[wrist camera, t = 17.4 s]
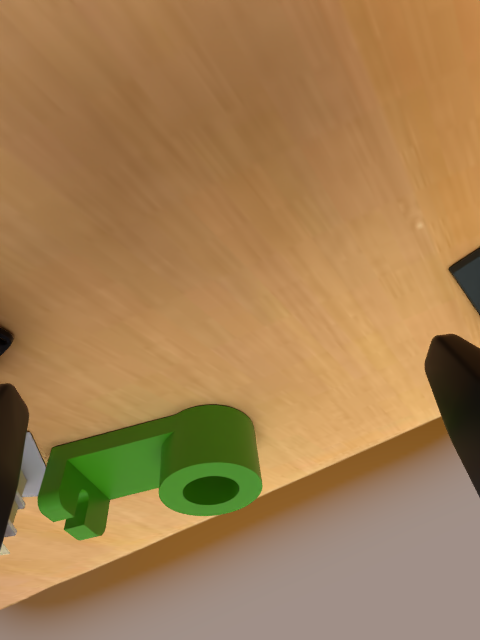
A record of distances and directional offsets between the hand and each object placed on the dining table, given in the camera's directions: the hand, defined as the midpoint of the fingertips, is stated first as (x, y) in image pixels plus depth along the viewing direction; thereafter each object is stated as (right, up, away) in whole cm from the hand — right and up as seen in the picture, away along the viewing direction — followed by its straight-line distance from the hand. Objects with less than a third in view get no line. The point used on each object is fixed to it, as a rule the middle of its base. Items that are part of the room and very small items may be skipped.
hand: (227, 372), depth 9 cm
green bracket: (-6, -9, +24) cm, 26 cm away
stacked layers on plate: (-20, -10, +23) cm, 32 cm away
